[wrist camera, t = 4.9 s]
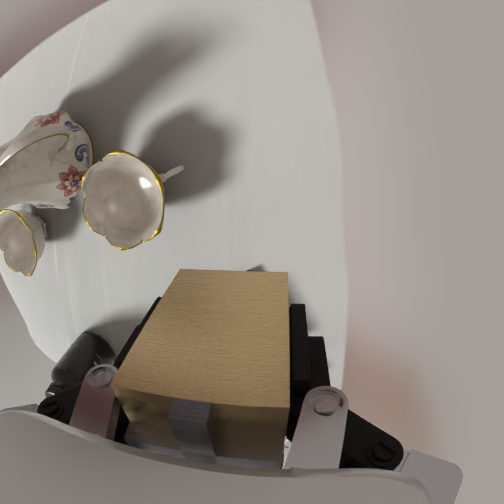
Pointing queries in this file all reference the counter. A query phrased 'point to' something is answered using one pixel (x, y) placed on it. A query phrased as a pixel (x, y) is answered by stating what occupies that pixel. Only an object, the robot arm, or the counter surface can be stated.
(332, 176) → the counter surface
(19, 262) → the chinaware
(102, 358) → the supplement bottle
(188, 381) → the block
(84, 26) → the counter surface
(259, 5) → the counter surface
